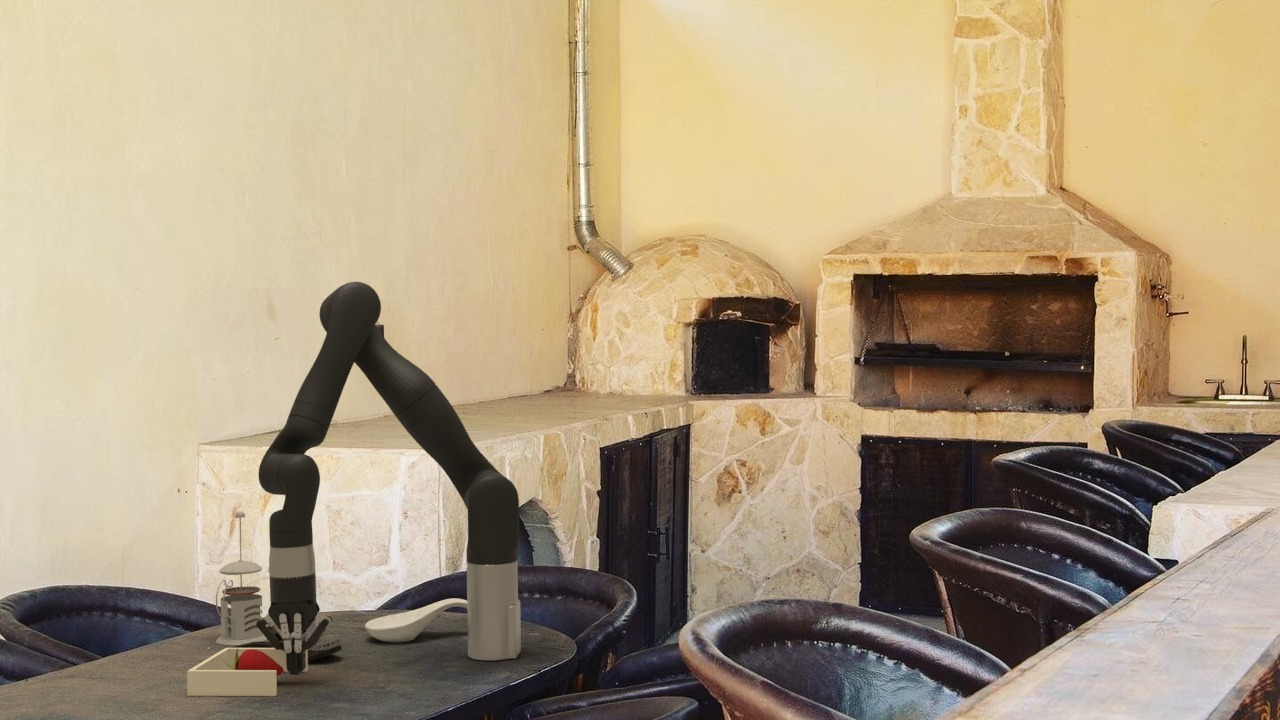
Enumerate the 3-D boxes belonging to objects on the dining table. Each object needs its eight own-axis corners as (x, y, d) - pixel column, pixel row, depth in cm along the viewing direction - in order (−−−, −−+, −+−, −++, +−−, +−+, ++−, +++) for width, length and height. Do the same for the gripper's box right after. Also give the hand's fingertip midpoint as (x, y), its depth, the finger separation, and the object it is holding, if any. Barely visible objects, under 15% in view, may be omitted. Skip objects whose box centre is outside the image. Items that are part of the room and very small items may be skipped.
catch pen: (307, 670, 228) (307, 647, 228) (275, 696, 211) (274, 671, 211) (226, 670, 229) (226, 647, 229) (187, 695, 212) (187, 671, 212)
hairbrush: (246, 632, 249) (351, 636, 238) (247, 651, 249) (352, 656, 238) (214, 641, 241) (321, 646, 231) (215, 661, 241) (323, 667, 231)
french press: (278, 635, 257) (276, 509, 256) (242, 648, 246) (240, 516, 246) (236, 632, 260) (234, 507, 260) (198, 645, 249) (196, 514, 249)
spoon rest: (367, 649, 245) (366, 611, 245) (363, 635, 257) (362, 599, 257) (491, 640, 252) (491, 602, 252) (482, 627, 263) (482, 592, 263)
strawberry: (286, 650, 223) (225, 645, 221) (286, 653, 216) (223, 647, 214) (280, 685, 222) (220, 680, 220) (281, 689, 215) (218, 684, 213)
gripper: (337, 566, 223) (341, 667, 223) (262, 568, 224) (265, 668, 224) (324, 575, 215) (328, 679, 216) (246, 576, 216) (249, 680, 217)
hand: (296, 673), depth 220 cm, fingers closed
